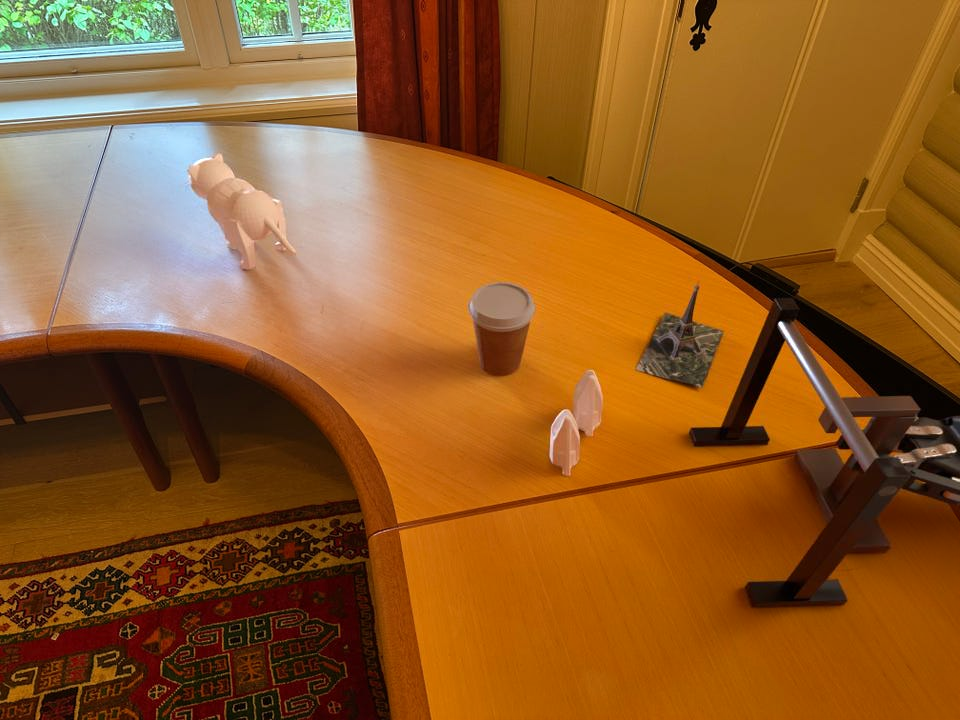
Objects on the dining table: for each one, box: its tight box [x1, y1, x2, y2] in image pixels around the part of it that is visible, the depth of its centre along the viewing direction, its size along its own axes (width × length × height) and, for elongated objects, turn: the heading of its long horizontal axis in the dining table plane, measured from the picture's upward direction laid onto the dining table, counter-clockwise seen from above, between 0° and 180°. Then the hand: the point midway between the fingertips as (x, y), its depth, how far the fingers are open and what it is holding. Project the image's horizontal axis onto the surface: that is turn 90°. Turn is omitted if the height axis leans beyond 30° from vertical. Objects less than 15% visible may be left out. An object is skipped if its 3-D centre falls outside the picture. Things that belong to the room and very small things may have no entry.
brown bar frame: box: [793, 395, 922, 555], centre depth 69 cm, size 10×14×18 cm
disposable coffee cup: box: [467, 281, 536, 377], centre depth 89 cm, size 10×10×12 cm
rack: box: [688, 297, 911, 609], centre depth 66 cm, size 24×10×23 cm, turn 2°
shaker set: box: [548, 369, 604, 477], centre depth 78 cm, size 12×4×11 cm, turn 148°
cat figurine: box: [180, 152, 298, 271], centre depth 110 cm, size 25×10×17 cm, turn 56°
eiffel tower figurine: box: [634, 279, 725, 388], centre depth 90 cm, size 15×10×13 cm
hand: (846, 452), depth 68 cm, fingers closed on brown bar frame, 2 cm apart
